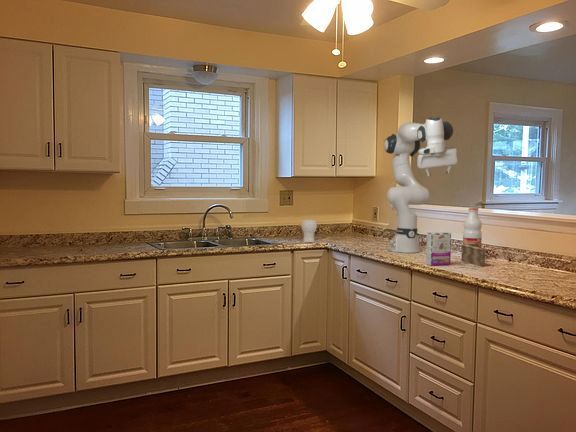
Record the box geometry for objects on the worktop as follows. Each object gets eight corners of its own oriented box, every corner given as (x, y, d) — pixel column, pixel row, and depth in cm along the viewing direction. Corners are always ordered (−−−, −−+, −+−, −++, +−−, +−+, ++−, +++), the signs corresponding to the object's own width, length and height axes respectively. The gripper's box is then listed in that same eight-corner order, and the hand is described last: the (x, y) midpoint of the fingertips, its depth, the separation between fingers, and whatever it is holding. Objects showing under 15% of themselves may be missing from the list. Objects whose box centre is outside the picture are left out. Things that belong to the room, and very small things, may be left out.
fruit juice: (472, 257, 271) (474, 207, 269) (484, 260, 262) (486, 208, 260) (458, 258, 267) (460, 207, 265) (470, 261, 259) (472, 208, 257)
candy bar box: (444, 263, 249) (445, 231, 248) (450, 265, 244) (451, 232, 243) (425, 264, 246) (426, 232, 245) (431, 266, 241) (432, 233, 240)
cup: (302, 243, 325) (302, 220, 324) (299, 241, 336) (300, 219, 335) (317, 243, 327) (318, 220, 326) (315, 241, 337) (315, 219, 336)
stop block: (460, 260, 259) (461, 244, 258) (464, 260, 259) (464, 244, 259) (480, 266, 241) (481, 248, 241) (484, 266, 242) (485, 248, 241)
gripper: (454, 145, 255) (455, 172, 257) (415, 150, 255) (417, 177, 258) (458, 146, 249) (460, 173, 251) (418, 151, 249) (420, 178, 252)
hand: (438, 175), depth 255 cm, fingers open, 8 cm apart
